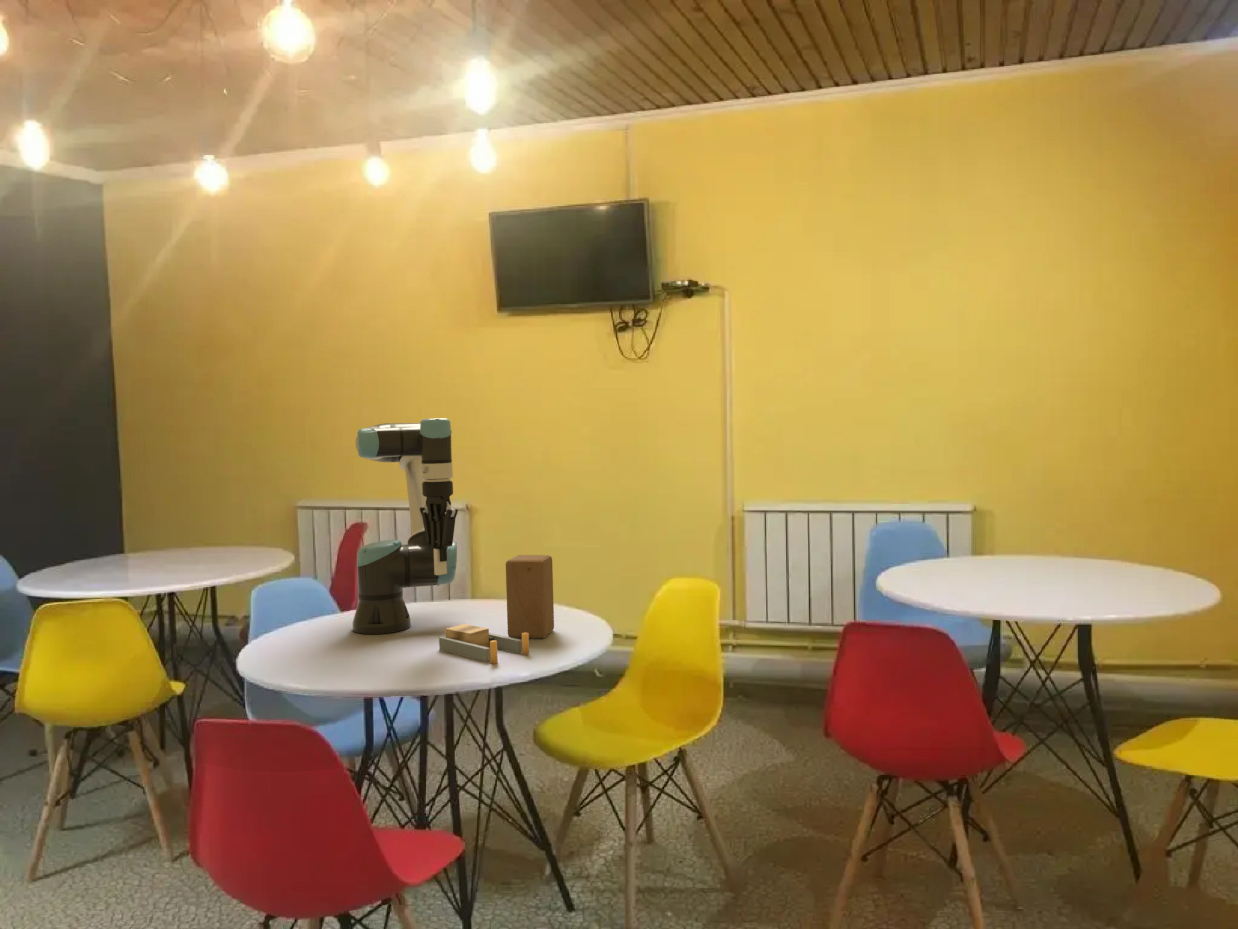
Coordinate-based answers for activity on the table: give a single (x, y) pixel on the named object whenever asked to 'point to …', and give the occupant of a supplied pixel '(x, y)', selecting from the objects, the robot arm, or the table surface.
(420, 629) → the table surface
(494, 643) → the chute
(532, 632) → the wooden block
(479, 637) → the oak block
